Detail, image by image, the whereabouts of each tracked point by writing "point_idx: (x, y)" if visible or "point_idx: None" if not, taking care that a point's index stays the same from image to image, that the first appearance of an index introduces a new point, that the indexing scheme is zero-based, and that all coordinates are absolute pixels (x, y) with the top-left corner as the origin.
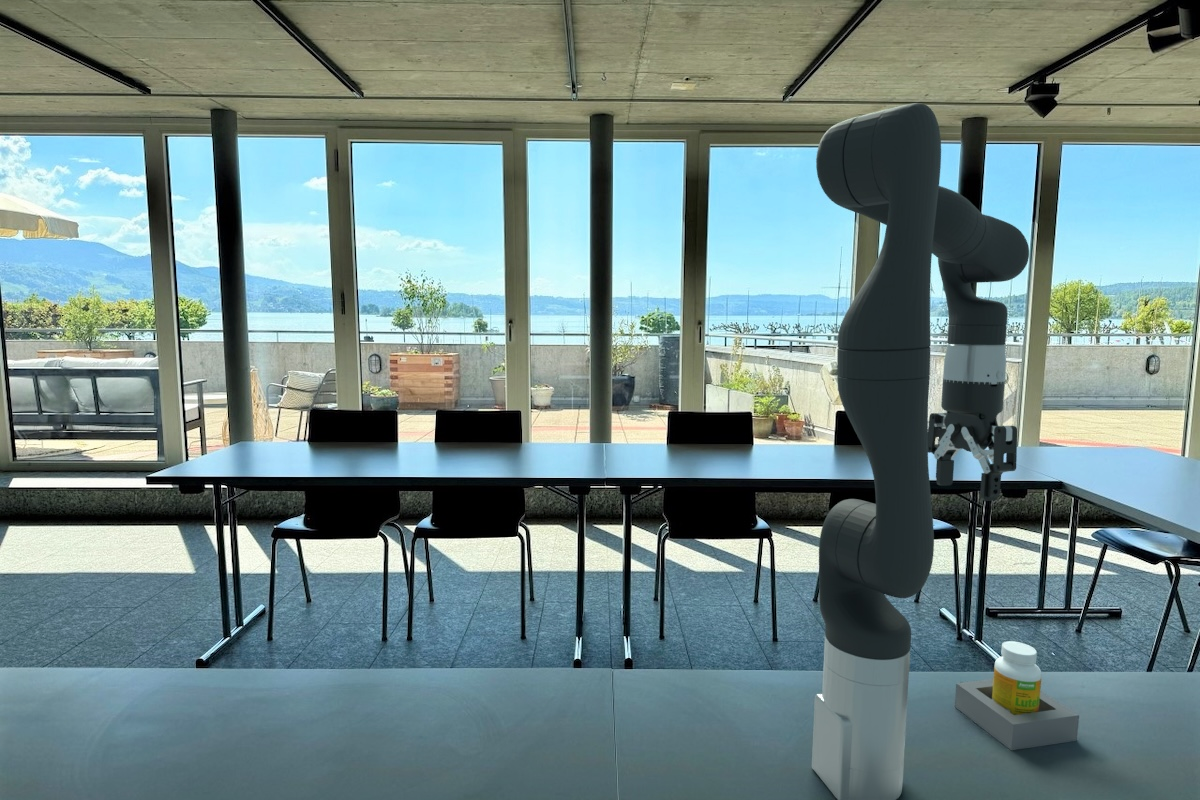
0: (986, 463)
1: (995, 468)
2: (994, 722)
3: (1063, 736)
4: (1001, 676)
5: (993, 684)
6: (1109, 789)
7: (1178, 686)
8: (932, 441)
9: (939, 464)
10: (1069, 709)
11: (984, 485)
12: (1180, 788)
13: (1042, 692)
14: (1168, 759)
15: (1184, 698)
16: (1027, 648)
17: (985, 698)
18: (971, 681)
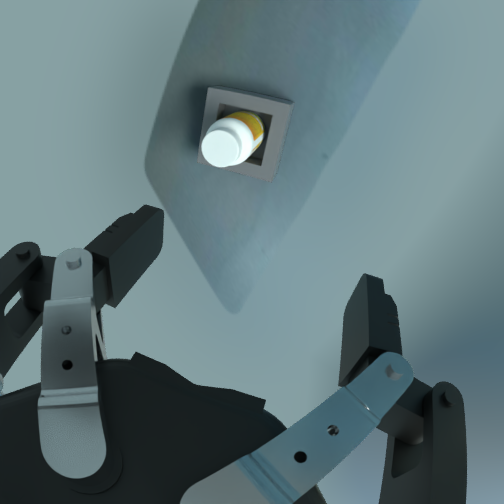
0: (57, 274)
1: (25, 246)
2: (234, 90)
3: None
4: (233, 117)
5: (251, 121)
6: (157, 114)
7: (231, 307)
8: (433, 434)
9: (377, 333)
10: (206, 164)
11: (120, 227)
12: (144, 164)
13: (237, 171)
14: (168, 194)
15: (218, 293)
16: (214, 157)
17: (253, 105)
18: (285, 124)
